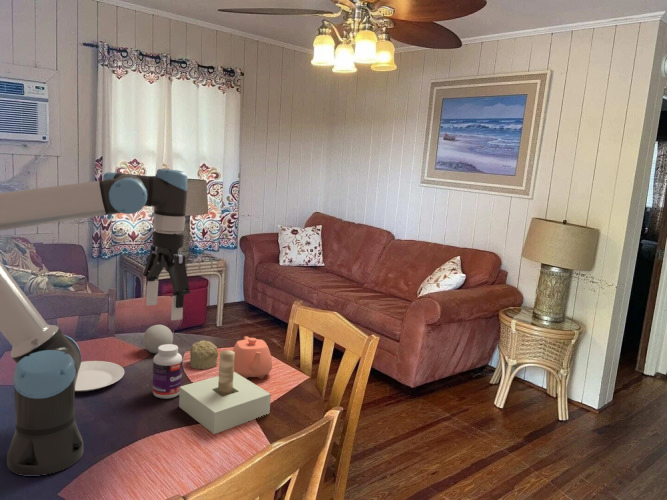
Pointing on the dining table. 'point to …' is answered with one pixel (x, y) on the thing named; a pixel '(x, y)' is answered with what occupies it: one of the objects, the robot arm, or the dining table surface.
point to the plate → (97, 375)
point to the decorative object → (203, 355)
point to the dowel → (226, 372)
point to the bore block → (224, 403)
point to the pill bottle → (167, 372)
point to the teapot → (252, 358)
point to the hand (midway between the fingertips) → (163, 311)
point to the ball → (157, 337)
